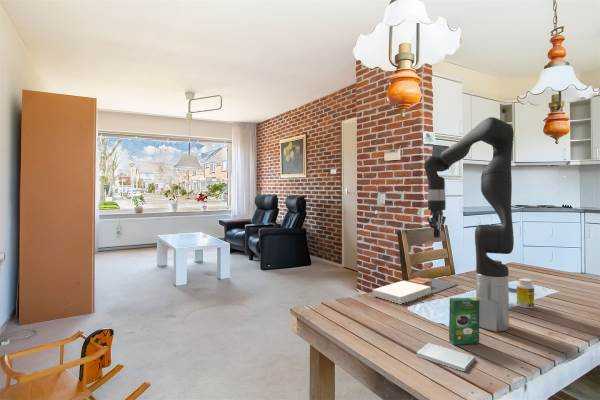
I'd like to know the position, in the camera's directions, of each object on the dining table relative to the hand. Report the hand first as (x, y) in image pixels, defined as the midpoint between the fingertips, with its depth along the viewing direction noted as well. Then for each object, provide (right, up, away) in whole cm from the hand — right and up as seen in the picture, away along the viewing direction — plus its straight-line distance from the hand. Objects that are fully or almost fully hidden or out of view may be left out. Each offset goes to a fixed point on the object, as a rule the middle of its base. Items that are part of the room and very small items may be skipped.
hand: (436, 237), depth 152 cm
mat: (-1, -23, +5) cm, 24 cm away
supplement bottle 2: (+23, -24, -25) cm, 42 cm away
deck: (-19, -24, -9) cm, 32 cm away
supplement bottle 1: (+27, -23, 0) cm, 36 cm away
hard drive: (-24, -26, -63) cm, 73 cm away
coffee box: (-15, -25, -55) cm, 62 cm away
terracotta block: (-7, -23, +2) cm, 24 cm away
